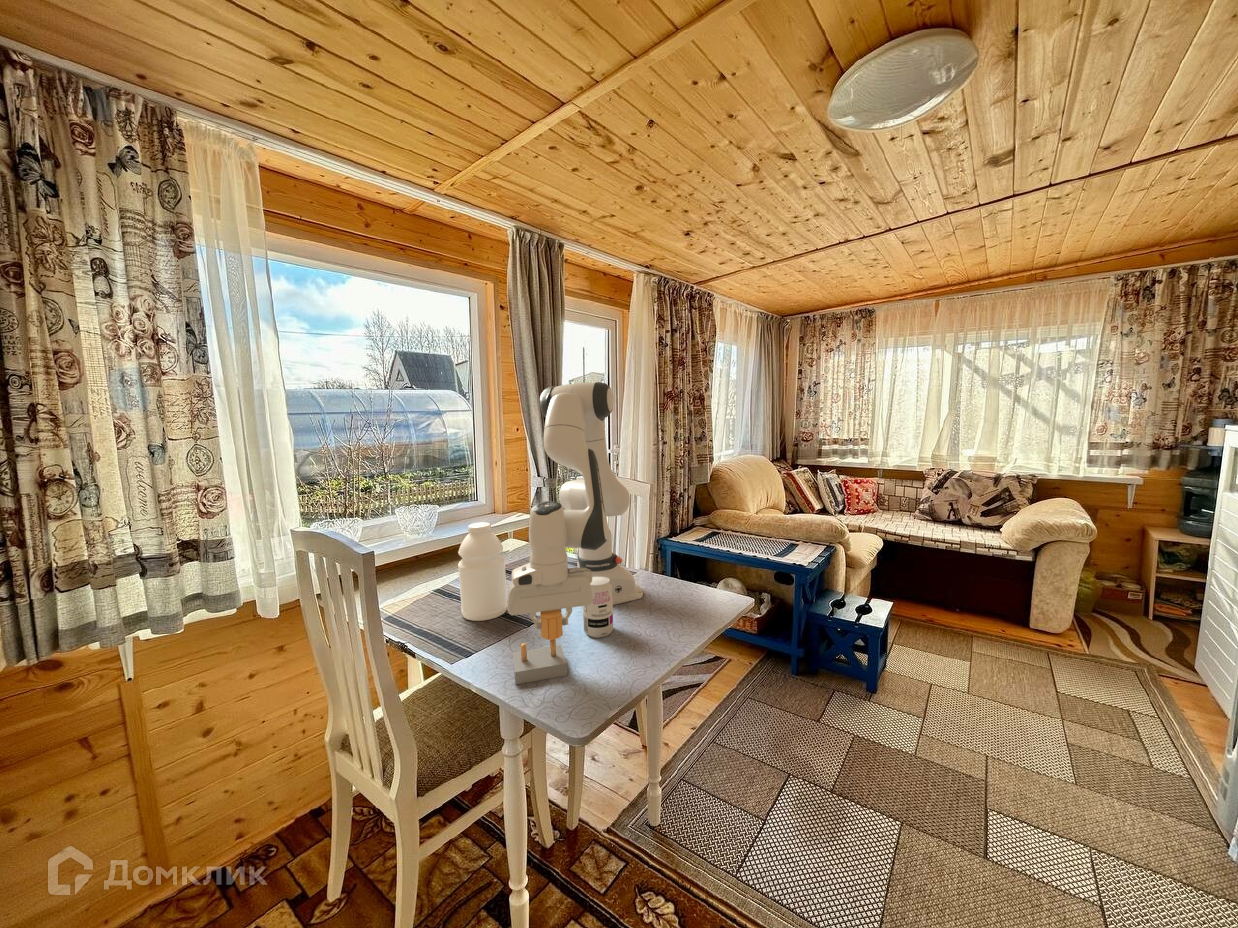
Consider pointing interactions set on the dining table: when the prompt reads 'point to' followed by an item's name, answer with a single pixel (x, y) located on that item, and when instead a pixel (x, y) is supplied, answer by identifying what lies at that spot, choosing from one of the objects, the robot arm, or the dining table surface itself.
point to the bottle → (482, 574)
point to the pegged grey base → (539, 663)
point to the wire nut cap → (551, 624)
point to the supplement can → (599, 609)
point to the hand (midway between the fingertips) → (551, 626)
